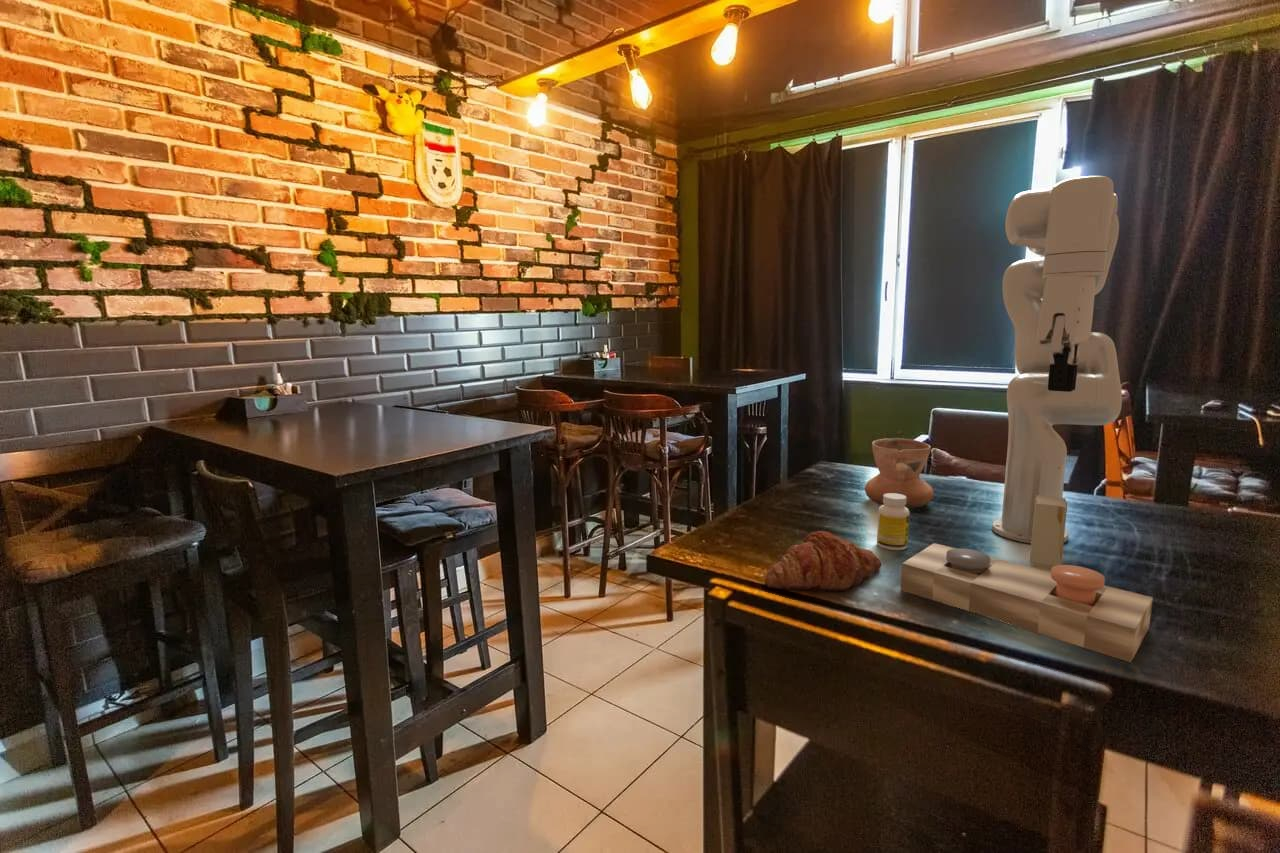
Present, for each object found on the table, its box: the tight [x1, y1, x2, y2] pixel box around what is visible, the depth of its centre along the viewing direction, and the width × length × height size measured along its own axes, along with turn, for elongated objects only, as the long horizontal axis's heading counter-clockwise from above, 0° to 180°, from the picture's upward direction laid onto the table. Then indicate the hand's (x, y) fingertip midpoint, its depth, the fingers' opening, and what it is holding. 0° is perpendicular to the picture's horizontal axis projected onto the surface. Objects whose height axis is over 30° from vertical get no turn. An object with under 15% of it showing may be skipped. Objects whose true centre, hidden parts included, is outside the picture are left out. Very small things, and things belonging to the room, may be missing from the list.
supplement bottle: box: [876, 493, 911, 551], centre depth 114 cm, size 5×5×10 cm
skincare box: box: [1028, 495, 1068, 572], centre depth 102 cm, size 6×4×12 cm
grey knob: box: [946, 547, 991, 576], centre depth 95 cm, size 6×6×6 cm
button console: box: [900, 542, 1154, 663], centre depth 90 cm, size 12×29×4 cm, turn 42°
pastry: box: [764, 530, 882, 593], centre depth 101 cm, size 17×15×8 cm
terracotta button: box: [1051, 564, 1106, 607], centre depth 84 cm, size 6×6×6 cm
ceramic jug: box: [864, 437, 935, 510], centre depth 139 cm, size 18×14×14 cm
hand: (1061, 390), depth 93 cm, fingers closed
